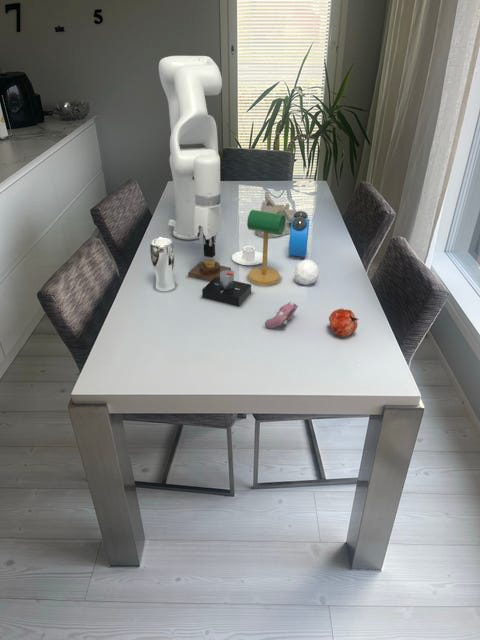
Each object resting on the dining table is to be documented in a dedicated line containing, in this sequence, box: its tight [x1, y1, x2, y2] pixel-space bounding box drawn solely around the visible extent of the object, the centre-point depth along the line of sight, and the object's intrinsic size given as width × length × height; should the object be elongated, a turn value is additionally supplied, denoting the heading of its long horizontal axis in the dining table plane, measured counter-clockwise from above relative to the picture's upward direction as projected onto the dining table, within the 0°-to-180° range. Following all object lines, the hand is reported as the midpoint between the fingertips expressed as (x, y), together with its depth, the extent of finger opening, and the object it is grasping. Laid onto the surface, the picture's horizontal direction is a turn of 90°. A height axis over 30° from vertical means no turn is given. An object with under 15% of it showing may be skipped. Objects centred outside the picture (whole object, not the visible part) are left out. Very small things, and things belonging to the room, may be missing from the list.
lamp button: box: [203, 258, 216, 268], centre depth 148 cm, size 4×4×2 cm
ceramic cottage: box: [255, 190, 297, 239], centre depth 179 cm, size 16×16×15 cm
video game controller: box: [264, 301, 299, 329], centre depth 125 cm, size 10×5×7 cm, turn 148°
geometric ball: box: [293, 259, 320, 286], centre depth 144 cm, size 8×8×8 cm
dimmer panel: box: [201, 277, 252, 307], centre depth 137 cm, size 12×9×3 cm
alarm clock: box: [288, 209, 310, 260], centre depth 159 cm, size 13×6×15 cm, turn 170°
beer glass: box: [149, 236, 176, 292], centre depth 139 cm, size 7×7×15 cm
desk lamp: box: [246, 209, 286, 287], centre depth 142 cm, size 10×10×22 cm
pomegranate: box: [328, 308, 360, 338], centre depth 121 cm, size 7×7×10 cm
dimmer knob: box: [220, 270, 235, 290], centre depth 135 cm, size 4×4×5 cm
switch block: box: [187, 260, 232, 283], centre depth 149 cm, size 11×9×4 cm
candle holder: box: [231, 245, 263, 266], centre depth 158 cm, size 12×12×4 cm
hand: (209, 255), depth 146 cm, fingers closed
